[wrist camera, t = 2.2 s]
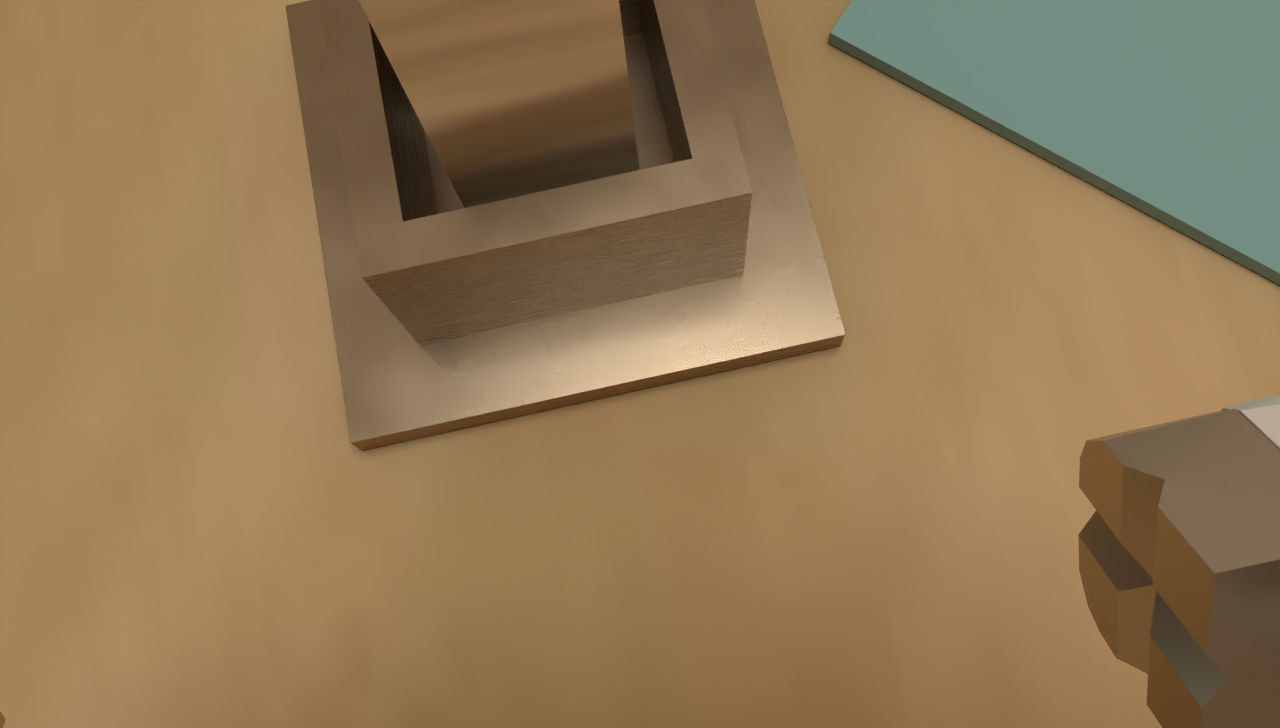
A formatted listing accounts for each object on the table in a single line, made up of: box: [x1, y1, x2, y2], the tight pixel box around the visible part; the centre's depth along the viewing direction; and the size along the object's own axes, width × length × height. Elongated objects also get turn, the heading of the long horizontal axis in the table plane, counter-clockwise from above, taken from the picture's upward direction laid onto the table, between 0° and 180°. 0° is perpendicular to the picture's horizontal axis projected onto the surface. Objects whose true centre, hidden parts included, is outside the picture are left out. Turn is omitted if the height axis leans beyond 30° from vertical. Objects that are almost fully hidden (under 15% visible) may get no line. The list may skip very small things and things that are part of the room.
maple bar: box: [359, 0, 639, 208], centre depth 22 cm, size 4×4×14 cm
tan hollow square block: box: [286, 0, 845, 450], centre depth 27 cm, size 12×12×6 cm
